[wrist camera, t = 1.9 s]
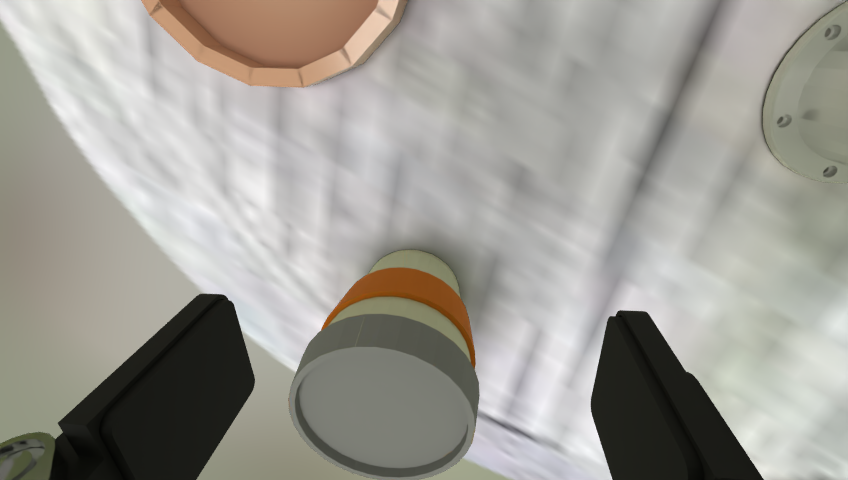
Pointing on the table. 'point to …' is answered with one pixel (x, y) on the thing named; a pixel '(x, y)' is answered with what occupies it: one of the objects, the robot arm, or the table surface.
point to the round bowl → (278, 35)
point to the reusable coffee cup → (391, 374)
